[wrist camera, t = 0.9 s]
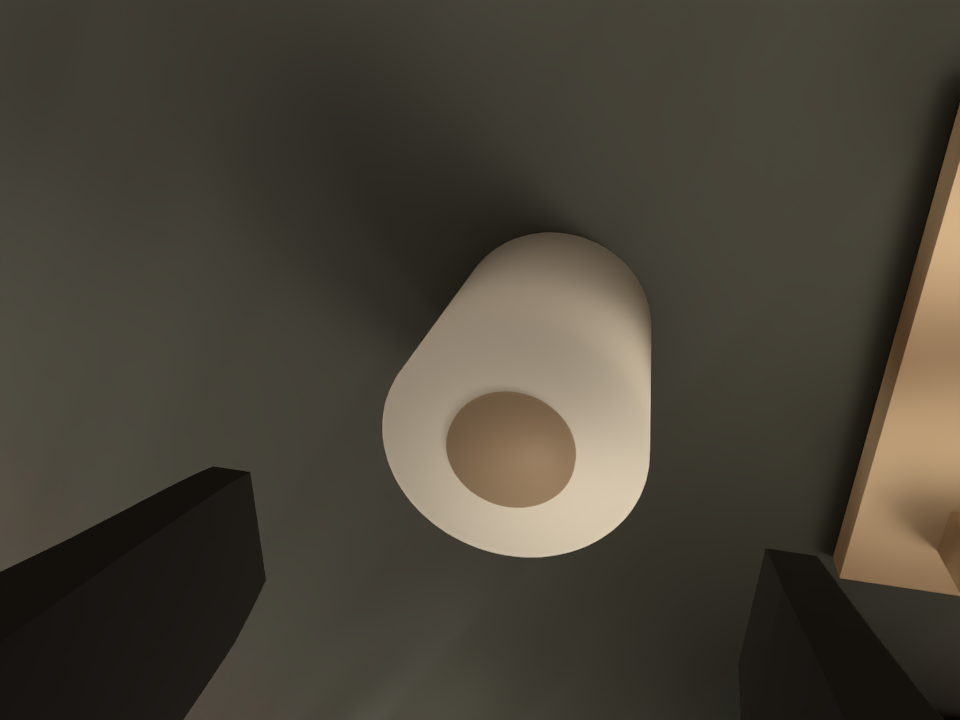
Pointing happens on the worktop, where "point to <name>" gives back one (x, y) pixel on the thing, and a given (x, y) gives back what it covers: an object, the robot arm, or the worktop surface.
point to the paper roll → (529, 401)
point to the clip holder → (916, 424)
